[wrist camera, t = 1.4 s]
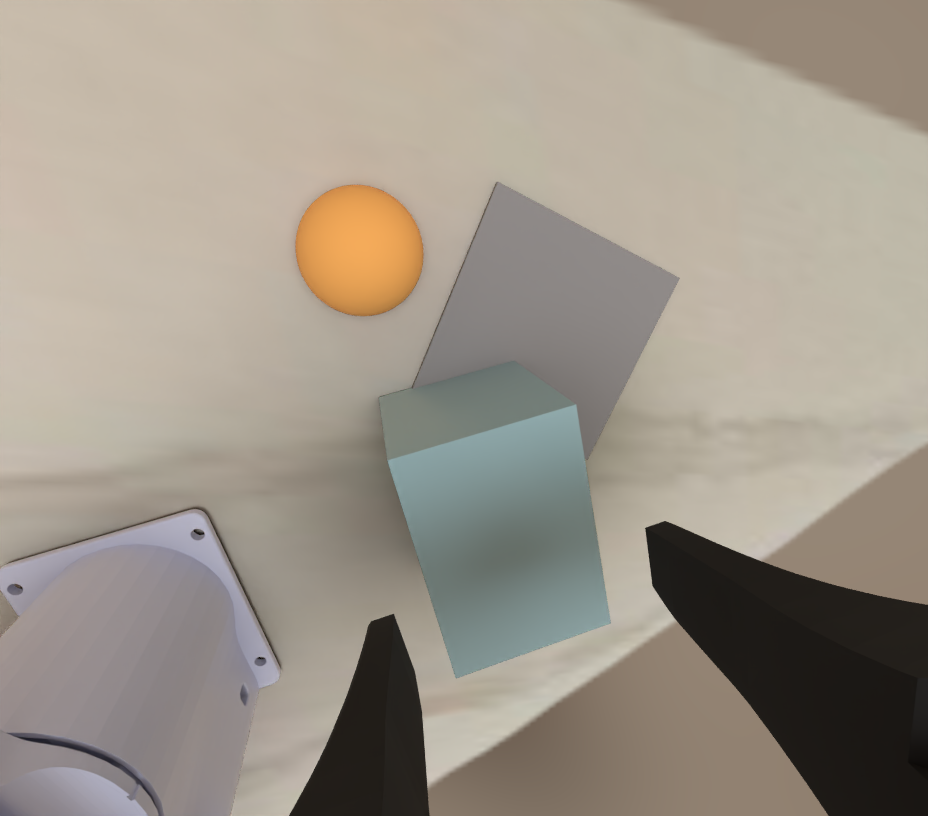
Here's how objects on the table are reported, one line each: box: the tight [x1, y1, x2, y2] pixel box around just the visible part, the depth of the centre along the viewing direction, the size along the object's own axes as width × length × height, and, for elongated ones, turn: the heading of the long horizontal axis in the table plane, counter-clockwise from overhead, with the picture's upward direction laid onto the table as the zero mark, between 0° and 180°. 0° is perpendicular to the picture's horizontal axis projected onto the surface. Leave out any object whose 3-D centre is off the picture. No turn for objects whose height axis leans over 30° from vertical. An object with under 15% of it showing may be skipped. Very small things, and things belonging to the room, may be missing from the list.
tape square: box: [412, 182, 680, 460], centre depth 21 cm, size 9×9×1 cm
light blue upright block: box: [379, 361, 611, 678], centre depth 19 cm, size 9×6×7 cm
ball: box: [296, 185, 423, 316], centre depth 17 cm, size 4×4×4 cm
